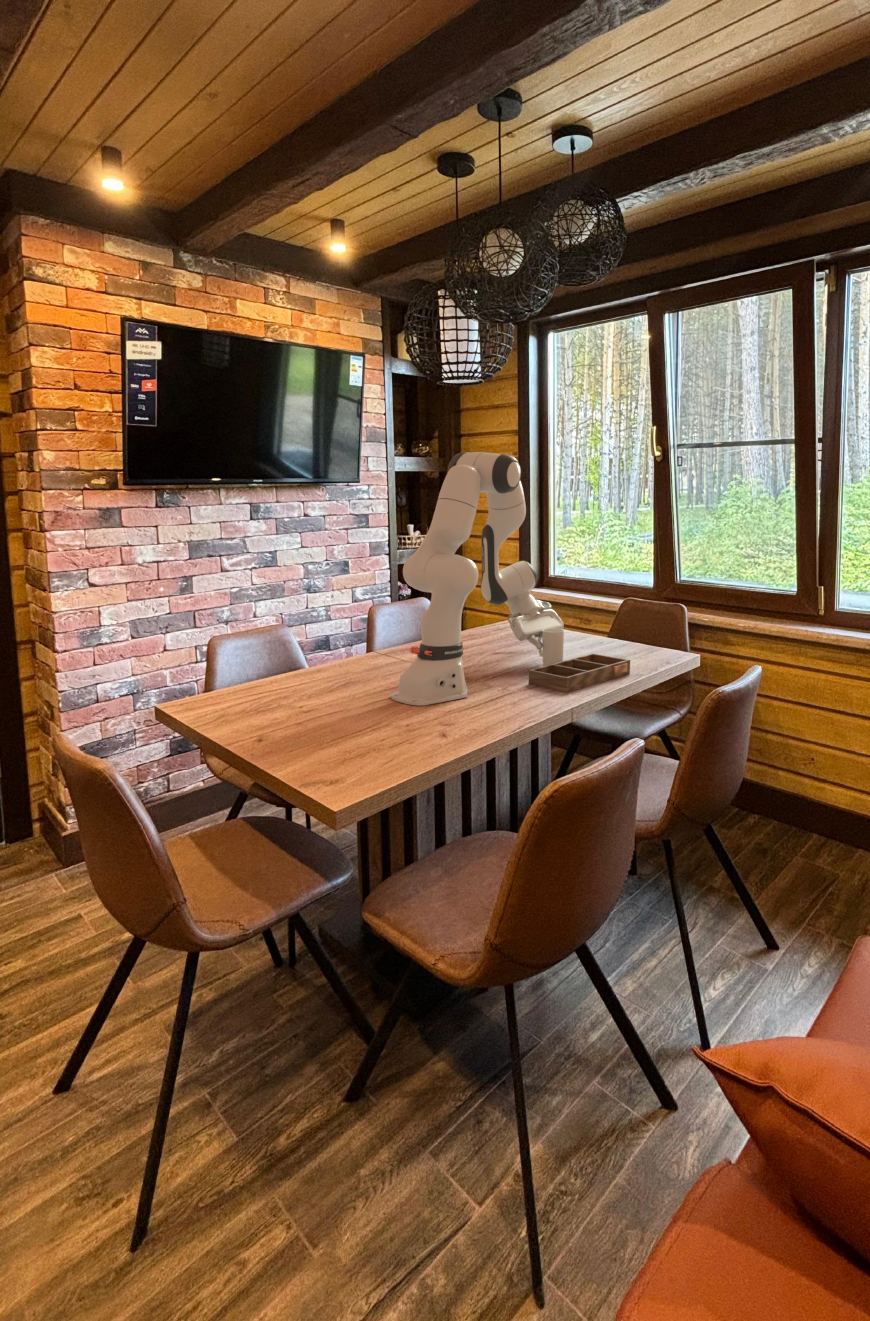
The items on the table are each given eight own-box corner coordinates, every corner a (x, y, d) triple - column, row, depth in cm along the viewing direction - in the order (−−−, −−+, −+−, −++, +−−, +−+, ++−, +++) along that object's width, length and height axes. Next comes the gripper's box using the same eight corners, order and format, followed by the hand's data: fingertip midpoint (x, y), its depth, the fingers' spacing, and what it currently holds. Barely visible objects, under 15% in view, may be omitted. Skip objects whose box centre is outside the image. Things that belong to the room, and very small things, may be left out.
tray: (568, 693, 206) (568, 678, 206) (528, 684, 217) (528, 670, 216) (631, 673, 226) (631, 660, 225) (592, 666, 237) (592, 653, 236)
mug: (568, 667, 236) (568, 630, 234) (553, 671, 232) (553, 633, 230) (545, 662, 244) (545, 626, 241) (530, 665, 240) (530, 629, 237)
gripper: (510, 609, 232) (534, 644, 227) (552, 602, 246) (576, 634, 240) (500, 622, 237) (523, 656, 232) (542, 614, 250) (565, 646, 245)
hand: (550, 645), depth 236 cm, fingers open, 8 cm apart
